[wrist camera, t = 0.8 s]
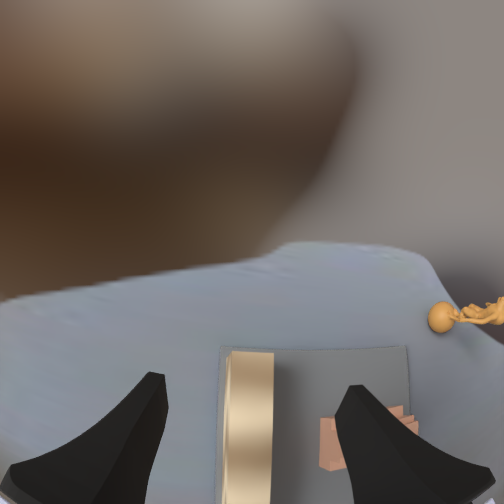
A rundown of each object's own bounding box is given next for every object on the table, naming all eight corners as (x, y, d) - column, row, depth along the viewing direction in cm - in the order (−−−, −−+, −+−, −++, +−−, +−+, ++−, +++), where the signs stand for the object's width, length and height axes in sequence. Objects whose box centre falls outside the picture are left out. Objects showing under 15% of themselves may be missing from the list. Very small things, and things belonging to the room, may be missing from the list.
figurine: (443, 302, 31) (505, 263, 20) (455, 341, 28) (521, 310, 18) (408, 314, 29) (480, 271, 18) (420, 359, 26) (499, 329, 16)
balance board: (398, 489, 17) (431, 496, 12) (214, 523, 14) (220, 551, 9) (399, 348, 26) (432, 334, 21) (220, 348, 23) (226, 335, 18)
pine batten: (256, 520, 14) (267, 538, 11) (221, 521, 14) (227, 541, 10) (261, 359, 22) (273, 353, 19) (226, 357, 22) (232, 350, 18)
